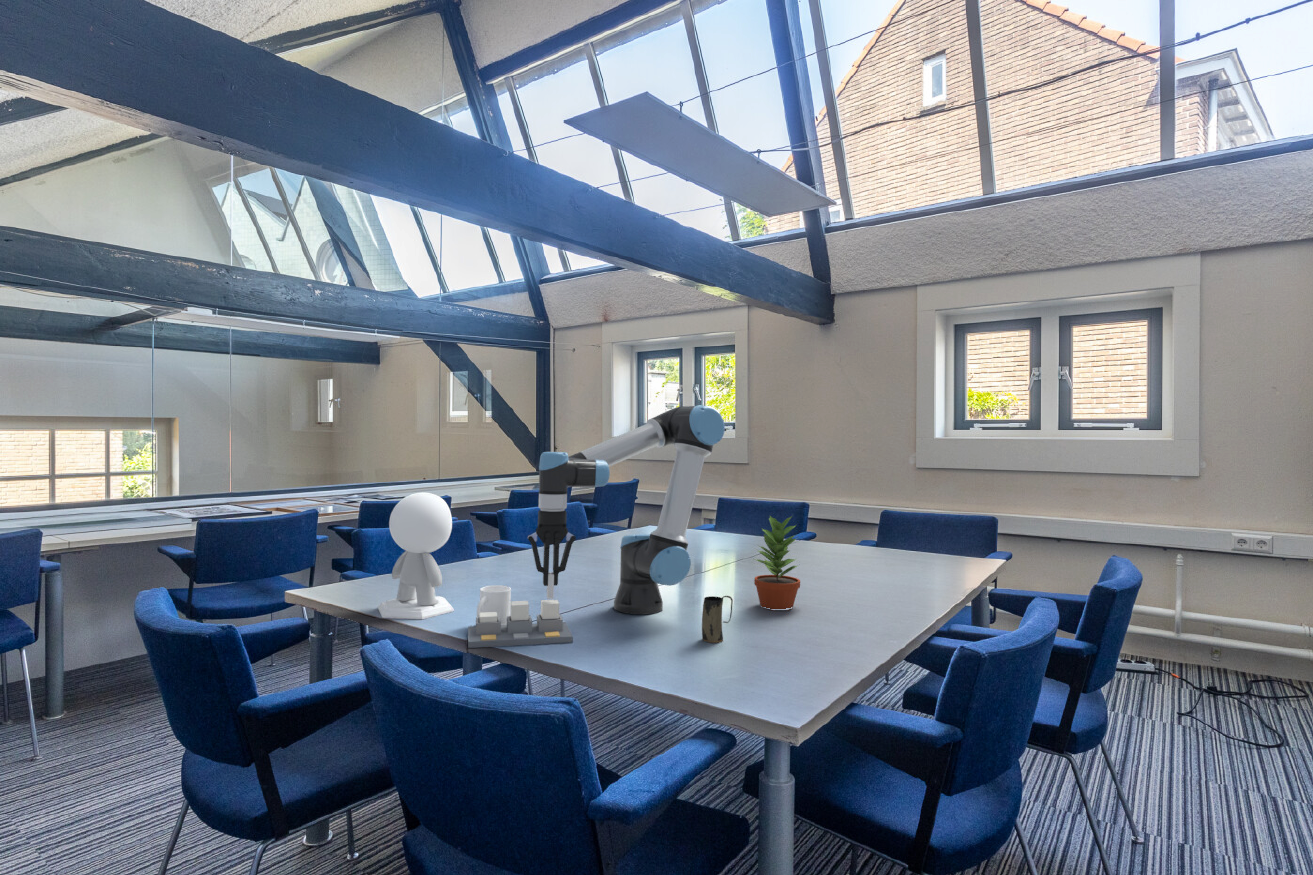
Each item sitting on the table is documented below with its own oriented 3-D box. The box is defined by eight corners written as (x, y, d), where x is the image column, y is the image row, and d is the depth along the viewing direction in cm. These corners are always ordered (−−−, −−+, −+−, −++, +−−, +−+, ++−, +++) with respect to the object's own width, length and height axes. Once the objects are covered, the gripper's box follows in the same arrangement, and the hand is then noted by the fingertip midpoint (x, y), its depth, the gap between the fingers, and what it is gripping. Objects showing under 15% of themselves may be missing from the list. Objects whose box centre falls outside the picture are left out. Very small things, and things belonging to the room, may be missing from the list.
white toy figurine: (468, 607, 210) (471, 492, 210) (405, 624, 191) (408, 497, 191) (425, 598, 221) (427, 488, 221) (360, 612, 202) (363, 492, 202)
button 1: (557, 614, 188) (557, 599, 188) (559, 618, 183) (559, 603, 183) (540, 615, 186) (541, 600, 186) (542, 619, 182) (542, 604, 182)
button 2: (527, 615, 185) (527, 600, 185) (528, 619, 181) (528, 604, 181) (510, 616, 184) (510, 601, 184) (511, 620, 180) (511, 605, 180)
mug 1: (489, 635, 183) (490, 596, 183) (464, 630, 186) (465, 592, 186) (515, 624, 194) (516, 587, 194) (491, 620, 197) (492, 584, 197)
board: (565, 627, 191) (565, 611, 191) (572, 642, 178) (573, 624, 178) (468, 632, 185) (468, 615, 185) (468, 647, 171) (468, 629, 171)
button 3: (496, 627, 183) (496, 611, 183) (497, 631, 179) (497, 616, 179) (479, 627, 182) (479, 612, 182) (479, 632, 178) (479, 617, 178)
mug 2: (699, 641, 181) (700, 596, 181) (704, 636, 187) (705, 591, 187) (728, 645, 179) (729, 599, 179) (733, 639, 184) (734, 594, 184)
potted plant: (751, 600, 229) (753, 509, 229) (798, 602, 227) (800, 511, 227) (751, 611, 215) (753, 514, 215) (801, 614, 213) (803, 516, 213)
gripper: (574, 508, 190) (572, 593, 190) (526, 508, 187) (524, 595, 187) (578, 511, 183) (576, 600, 183) (529, 511, 179) (526, 601, 179)
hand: (550, 597), depth 185 cm, fingers closed
